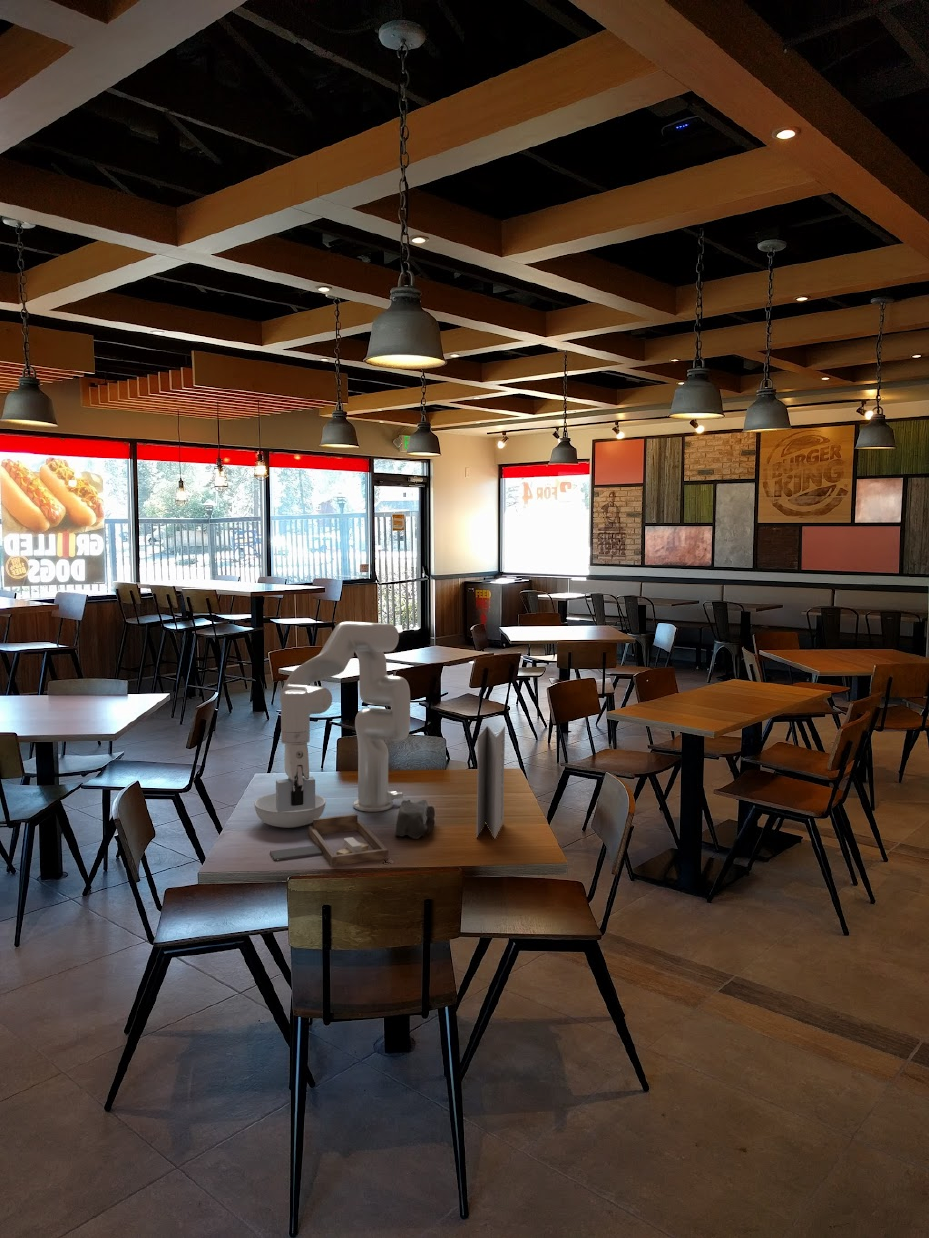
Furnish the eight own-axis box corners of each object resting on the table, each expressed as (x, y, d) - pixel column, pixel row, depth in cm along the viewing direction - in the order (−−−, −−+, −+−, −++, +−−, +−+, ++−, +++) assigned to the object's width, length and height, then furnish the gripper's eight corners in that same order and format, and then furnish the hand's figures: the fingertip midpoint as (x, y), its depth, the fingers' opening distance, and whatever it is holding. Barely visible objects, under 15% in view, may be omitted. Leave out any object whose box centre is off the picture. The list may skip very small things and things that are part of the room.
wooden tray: (360, 828, 268) (360, 813, 267) (388, 858, 244) (388, 842, 243) (308, 834, 262) (308, 819, 261) (332, 866, 238) (332, 849, 237)
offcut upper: (343, 844, 249) (343, 838, 249) (352, 843, 250) (352, 837, 250) (352, 853, 243) (352, 846, 243) (361, 851, 244) (361, 845, 244)
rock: (433, 843, 256) (433, 816, 255) (393, 842, 256) (393, 815, 255) (435, 822, 274) (436, 797, 274) (398, 822, 274) (398, 796, 274)
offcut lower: (360, 850, 251) (360, 842, 251) (368, 852, 249) (368, 845, 249) (336, 859, 244) (336, 851, 244) (344, 861, 242) (344, 853, 242)
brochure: (495, 840, 259) (497, 737, 256) (476, 838, 260) (477, 736, 257) (503, 824, 273) (504, 726, 270) (485, 822, 274) (486, 725, 271)
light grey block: (312, 805, 248) (312, 776, 247) (315, 808, 246) (315, 779, 245) (276, 809, 244) (275, 780, 244) (278, 812, 242) (278, 782, 241)
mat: (317, 847, 252) (317, 845, 252) (322, 854, 246) (322, 852, 246) (270, 853, 247) (270, 851, 246) (274, 860, 241) (274, 858, 241)
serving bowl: (330, 831, 265) (330, 808, 264) (256, 837, 259) (256, 814, 258) (320, 810, 285) (320, 788, 284) (252, 815, 279) (252, 793, 278)
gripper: (316, 741, 237) (316, 810, 239) (302, 728, 252) (302, 793, 254) (287, 744, 234) (288, 813, 236) (275, 730, 249) (275, 796, 251)
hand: (295, 802), depth 245 cm, fingers closed on light grey block, 3 cm apart
